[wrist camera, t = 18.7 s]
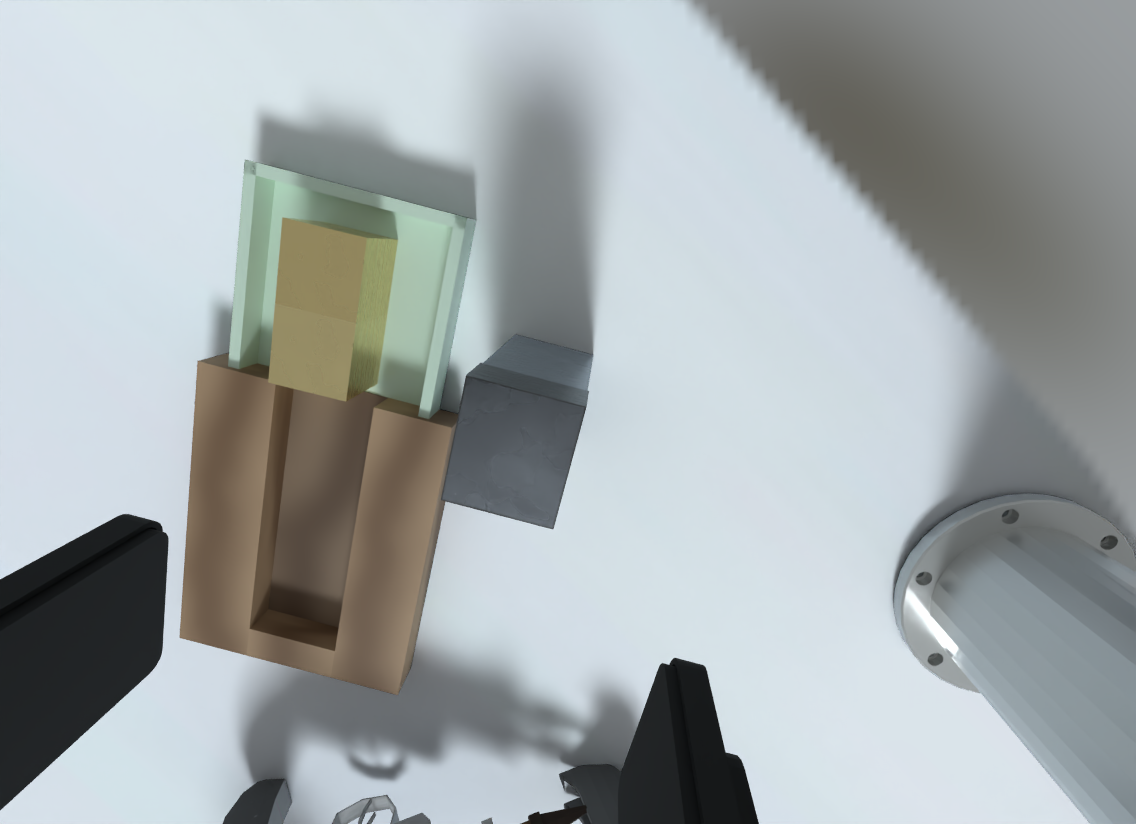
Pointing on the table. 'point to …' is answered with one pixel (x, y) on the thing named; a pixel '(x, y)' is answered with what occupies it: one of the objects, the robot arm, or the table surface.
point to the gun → (269, 801)
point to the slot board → (311, 524)
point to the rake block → (518, 430)
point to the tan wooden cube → (334, 270)
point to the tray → (419, 283)
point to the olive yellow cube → (325, 353)
